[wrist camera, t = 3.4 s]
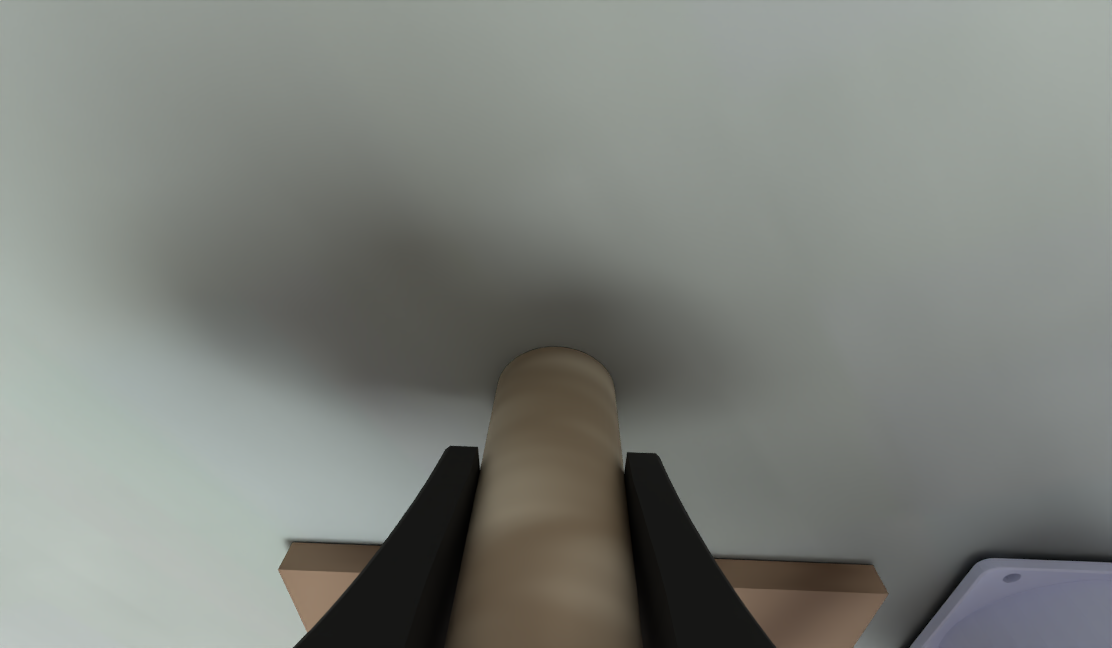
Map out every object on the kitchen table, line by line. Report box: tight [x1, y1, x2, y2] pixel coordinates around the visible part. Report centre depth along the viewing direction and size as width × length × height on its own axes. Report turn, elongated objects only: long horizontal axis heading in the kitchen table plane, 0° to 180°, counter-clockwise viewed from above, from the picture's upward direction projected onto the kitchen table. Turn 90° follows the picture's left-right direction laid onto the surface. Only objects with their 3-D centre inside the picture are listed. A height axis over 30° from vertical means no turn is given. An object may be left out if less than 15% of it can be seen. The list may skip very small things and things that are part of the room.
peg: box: [444, 347, 643, 648], centre depth 9 cm, size 3×3×10 cm
